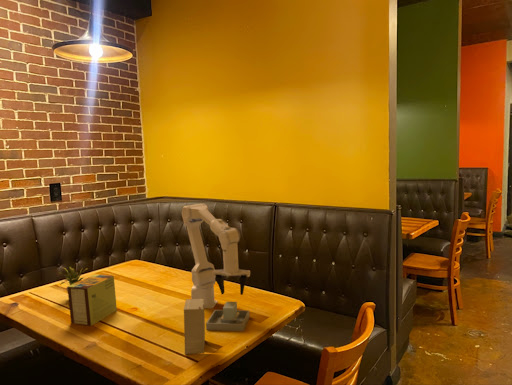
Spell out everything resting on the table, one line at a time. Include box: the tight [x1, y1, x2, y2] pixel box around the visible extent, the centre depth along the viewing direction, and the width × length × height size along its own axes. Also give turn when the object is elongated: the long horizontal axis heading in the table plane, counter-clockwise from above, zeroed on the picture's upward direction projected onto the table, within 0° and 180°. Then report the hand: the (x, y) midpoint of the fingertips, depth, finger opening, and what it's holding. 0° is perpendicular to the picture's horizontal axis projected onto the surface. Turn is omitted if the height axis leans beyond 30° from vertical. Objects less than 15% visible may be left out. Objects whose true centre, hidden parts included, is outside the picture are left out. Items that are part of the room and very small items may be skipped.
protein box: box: [66, 273, 118, 327], centre depth 155 cm, size 10×15×16 cm
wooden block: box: [221, 312, 240, 324], centre depth 142 cm, size 6×6×4 cm
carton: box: [222, 301, 238, 319], centre depth 142 cm, size 4×6×4 cm, turn 171°
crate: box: [205, 309, 251, 332], centre depth 143 cm, size 14×12×3 cm
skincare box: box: [183, 298, 206, 355], centre depth 126 cm, size 8×7×16 cm
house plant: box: [59, 266, 89, 293], centre depth 175 cm, size 14×14×16 cm
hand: (232, 293), depth 146 cm, fingers open, 7 cm apart
